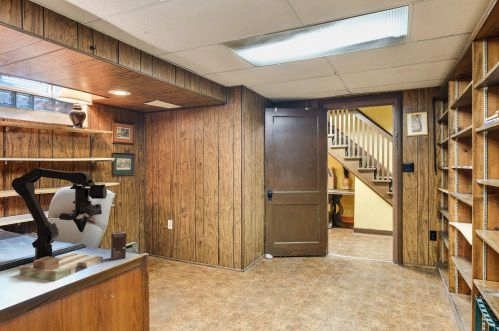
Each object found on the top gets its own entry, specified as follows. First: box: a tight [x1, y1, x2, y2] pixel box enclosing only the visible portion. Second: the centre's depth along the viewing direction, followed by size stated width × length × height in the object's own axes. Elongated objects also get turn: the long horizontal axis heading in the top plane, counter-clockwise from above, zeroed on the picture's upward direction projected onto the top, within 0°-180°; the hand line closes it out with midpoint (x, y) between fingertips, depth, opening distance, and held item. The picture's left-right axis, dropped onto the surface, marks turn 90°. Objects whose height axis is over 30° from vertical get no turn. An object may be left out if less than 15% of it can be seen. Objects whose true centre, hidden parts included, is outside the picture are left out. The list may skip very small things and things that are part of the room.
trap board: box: [19, 252, 104, 282], centre depth 128 cm, size 18×24×4 cm
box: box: [110, 230, 127, 261], centre depth 142 cm, size 6×4×12 cm
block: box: [32, 256, 59, 271], centre depth 120 cm, size 6×6×4 cm
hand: (81, 232), depth 141 cm, fingers closed
